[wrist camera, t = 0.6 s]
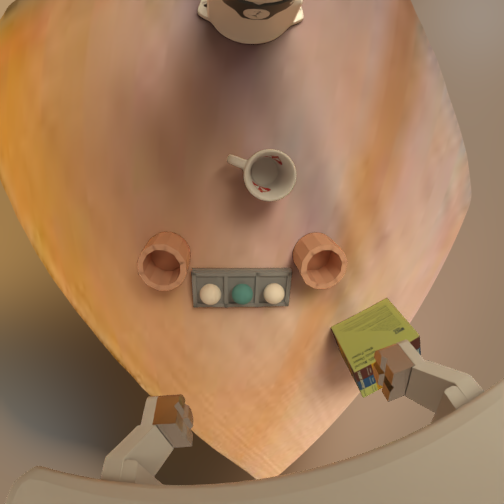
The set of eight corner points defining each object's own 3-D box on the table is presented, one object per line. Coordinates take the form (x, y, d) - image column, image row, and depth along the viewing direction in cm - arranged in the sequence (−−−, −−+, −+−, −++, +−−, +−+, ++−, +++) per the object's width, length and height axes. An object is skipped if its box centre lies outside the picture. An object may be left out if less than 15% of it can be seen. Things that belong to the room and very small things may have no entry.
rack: (194, 303, 57) (193, 307, 56) (192, 268, 54) (191, 271, 53) (286, 302, 59) (288, 306, 58) (290, 267, 56) (292, 271, 55)
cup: (218, 177, 49) (217, 183, 41) (236, 135, 46) (238, 133, 39) (275, 199, 51) (284, 209, 44) (293, 158, 49) (305, 162, 41)
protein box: (329, 327, 63) (353, 373, 49) (387, 296, 62) (421, 335, 47) (340, 354, 67) (362, 398, 53) (393, 326, 66) (422, 365, 51)
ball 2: (231, 279, 55) (232, 290, 51) (252, 279, 55) (254, 289, 52) (231, 297, 57) (231, 308, 53) (251, 297, 57) (253, 308, 53)
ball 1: (200, 279, 54) (198, 290, 51) (220, 279, 55) (220, 290, 51) (200, 298, 56) (199, 309, 52) (221, 298, 56) (221, 308, 53)
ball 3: (262, 279, 56) (265, 289, 52) (283, 279, 56) (287, 289, 52) (261, 297, 57) (264, 308, 53) (281, 297, 57) (285, 307, 54)
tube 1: (144, 232, 51) (134, 244, 45) (189, 231, 52) (185, 244, 46) (148, 273, 54) (140, 290, 48) (191, 274, 55) (187, 291, 49)
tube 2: (294, 232, 54) (303, 244, 48) (337, 232, 55) (350, 244, 48) (290, 273, 57) (298, 289, 51) (331, 272, 58) (342, 288, 52)
